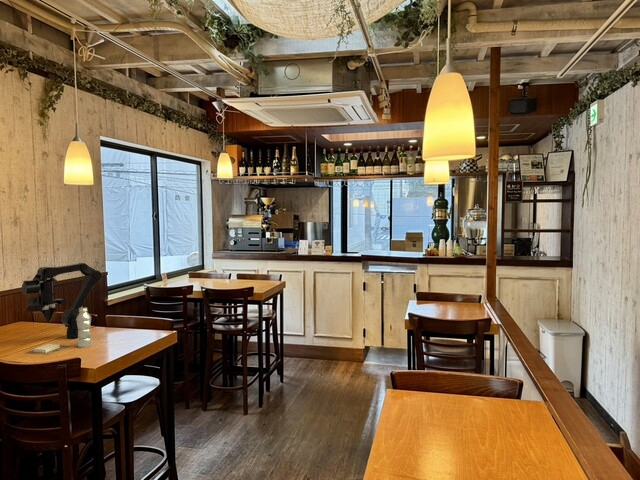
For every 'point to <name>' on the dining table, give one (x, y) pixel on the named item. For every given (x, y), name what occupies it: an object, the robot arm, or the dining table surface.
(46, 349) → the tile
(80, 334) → the plastic bottle
